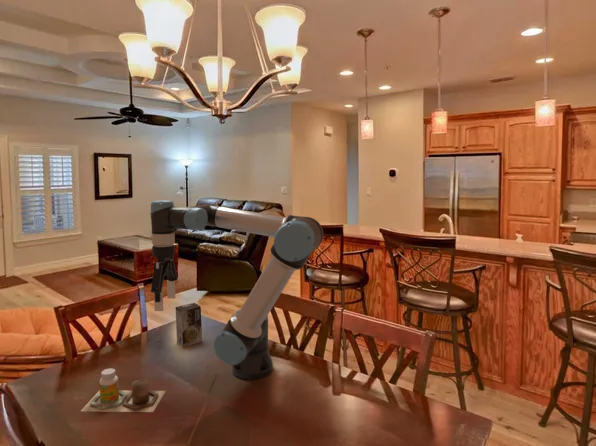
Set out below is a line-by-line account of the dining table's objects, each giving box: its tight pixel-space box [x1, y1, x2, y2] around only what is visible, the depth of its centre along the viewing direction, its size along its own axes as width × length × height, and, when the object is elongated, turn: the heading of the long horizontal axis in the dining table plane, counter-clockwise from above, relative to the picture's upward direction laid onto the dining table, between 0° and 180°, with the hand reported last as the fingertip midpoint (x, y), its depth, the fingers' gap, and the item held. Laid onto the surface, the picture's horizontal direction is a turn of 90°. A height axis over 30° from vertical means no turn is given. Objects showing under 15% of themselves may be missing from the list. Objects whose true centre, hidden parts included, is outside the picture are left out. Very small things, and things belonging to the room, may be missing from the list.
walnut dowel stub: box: [131, 378, 150, 405], centre depth 130 cm, size 5×5×6 cm
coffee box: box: [175, 302, 203, 348], centre depth 177 cm, size 9×6×16 cm
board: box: [80, 389, 167, 413], centre depth 131 cm, size 22×12×2 cm, turn 90°
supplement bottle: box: [98, 368, 120, 405], centre depth 130 cm, size 5×5×10 cm
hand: (165, 304), depth 146 cm, fingers open, 13 cm apart
